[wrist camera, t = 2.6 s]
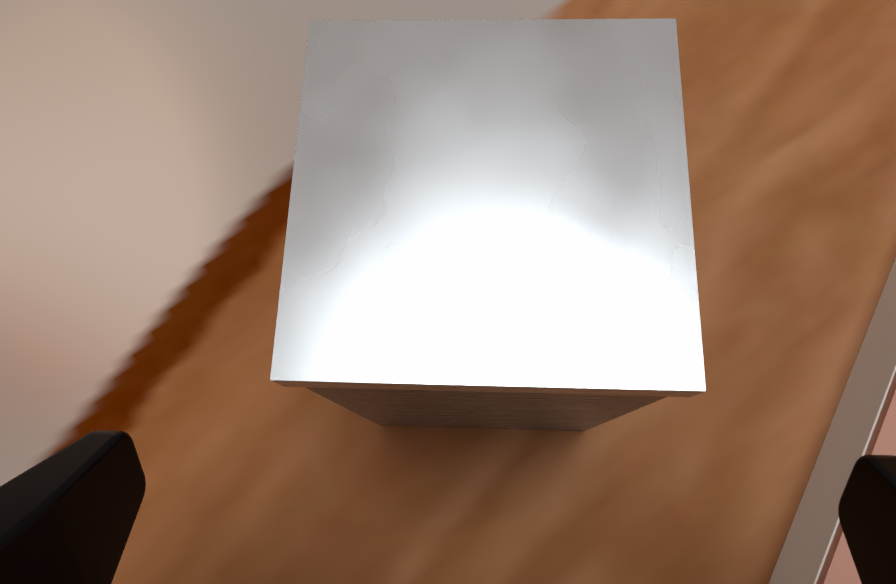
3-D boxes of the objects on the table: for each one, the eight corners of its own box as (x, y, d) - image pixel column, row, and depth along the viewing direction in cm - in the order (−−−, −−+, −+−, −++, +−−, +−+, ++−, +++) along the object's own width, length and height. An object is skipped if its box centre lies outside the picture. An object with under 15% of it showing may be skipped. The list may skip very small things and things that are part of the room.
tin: (587, 434, 18) (705, 391, 9) (376, 428, 19) (270, 380, 9) (581, 235, 20) (676, 18, 11) (388, 233, 20) (309, 20, 11)
